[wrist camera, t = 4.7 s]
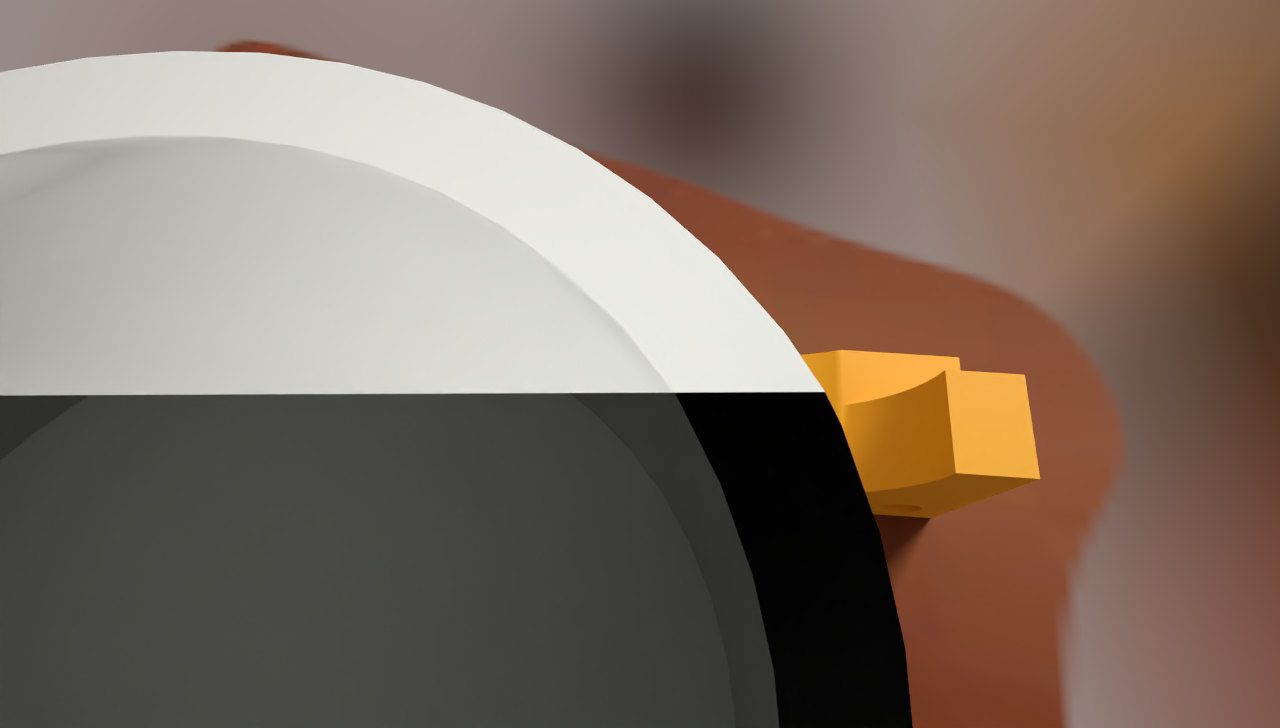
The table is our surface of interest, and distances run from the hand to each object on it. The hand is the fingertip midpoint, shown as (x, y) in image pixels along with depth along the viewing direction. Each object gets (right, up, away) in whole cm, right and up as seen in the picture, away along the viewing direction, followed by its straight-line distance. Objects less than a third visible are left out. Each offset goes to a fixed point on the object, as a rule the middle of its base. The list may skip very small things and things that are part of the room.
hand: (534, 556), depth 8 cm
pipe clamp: (+5, 0, +15) cm, 15 cm away
